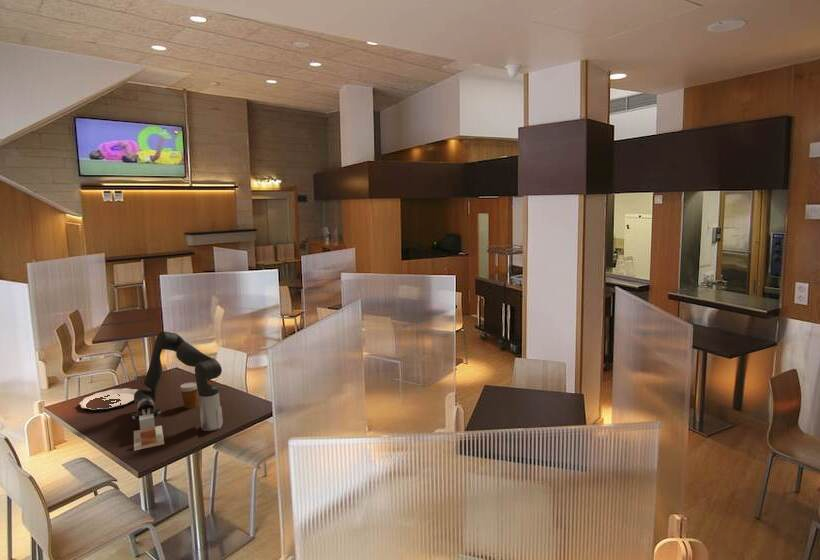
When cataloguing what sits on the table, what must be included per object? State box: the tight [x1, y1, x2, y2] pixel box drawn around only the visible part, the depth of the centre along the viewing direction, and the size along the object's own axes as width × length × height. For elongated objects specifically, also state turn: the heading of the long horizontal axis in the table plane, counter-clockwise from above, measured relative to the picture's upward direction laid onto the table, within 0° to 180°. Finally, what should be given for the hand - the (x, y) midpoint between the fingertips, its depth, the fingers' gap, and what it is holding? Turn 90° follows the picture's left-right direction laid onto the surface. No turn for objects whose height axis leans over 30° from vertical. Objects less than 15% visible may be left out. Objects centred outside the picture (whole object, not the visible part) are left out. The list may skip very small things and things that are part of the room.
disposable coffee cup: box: [179, 381, 199, 409], centre depth 275 cm, size 10×10×12 cm
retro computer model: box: [138, 413, 156, 431], centre depth 239 cm, size 6×6×9 cm
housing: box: [133, 425, 165, 451], centre depth 237 cm, size 22×12×2 cm, turn 28°
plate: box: [78, 387, 138, 411], centre depth 285 cm, size 29×29×2 cm
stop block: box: [140, 428, 156, 445], centre depth 231 cm, size 2×6×6 cm, turn 118°
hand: (147, 420), depth 241 cm, fingers closed
